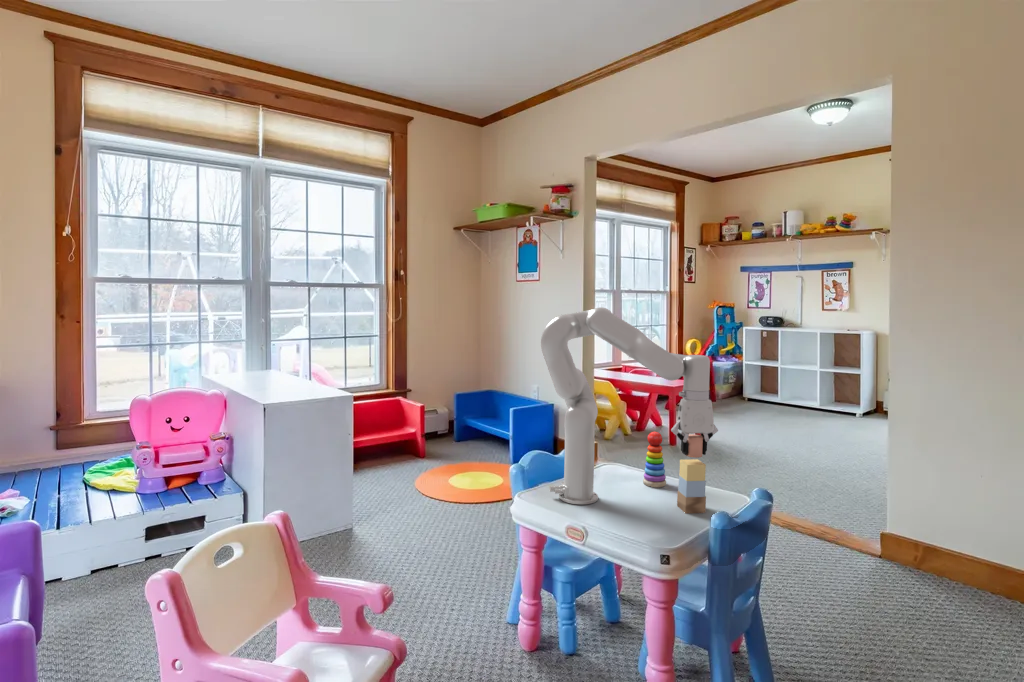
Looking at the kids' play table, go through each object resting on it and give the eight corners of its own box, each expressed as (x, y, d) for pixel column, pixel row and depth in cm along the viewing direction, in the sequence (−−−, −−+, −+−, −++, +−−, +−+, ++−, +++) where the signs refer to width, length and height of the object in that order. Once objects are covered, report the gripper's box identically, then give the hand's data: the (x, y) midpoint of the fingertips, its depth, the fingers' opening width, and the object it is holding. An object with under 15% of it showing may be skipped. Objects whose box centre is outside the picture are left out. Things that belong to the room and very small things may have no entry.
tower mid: (686, 497, 179) (686, 481, 178) (678, 490, 185) (679, 475, 184) (705, 496, 180) (705, 480, 179) (696, 490, 185) (697, 474, 185)
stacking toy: (664, 481, 210) (666, 429, 208) (667, 488, 202) (669, 435, 200) (641, 480, 210) (643, 429, 209) (644, 487, 202) (646, 434, 201)
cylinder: (689, 457, 178) (690, 438, 178) (682, 453, 183) (683, 434, 183) (705, 457, 179) (705, 438, 178) (698, 453, 184) (698, 434, 183)
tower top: (686, 481, 179) (687, 465, 178) (679, 475, 184) (679, 459, 184) (705, 480, 179) (705, 464, 179) (697, 474, 185) (697, 459, 185)
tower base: (685, 513, 179) (685, 497, 179) (677, 506, 185) (677, 490, 185) (705, 513, 180) (705, 497, 179) (696, 505, 186) (697, 490, 186)
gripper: (673, 397, 175) (671, 457, 176) (728, 397, 177) (725, 456, 178) (664, 393, 183) (662, 451, 184) (716, 393, 184) (714, 450, 186)
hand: (693, 453), depth 181 cm, fingers closed on cylinder, 4 cm apart
